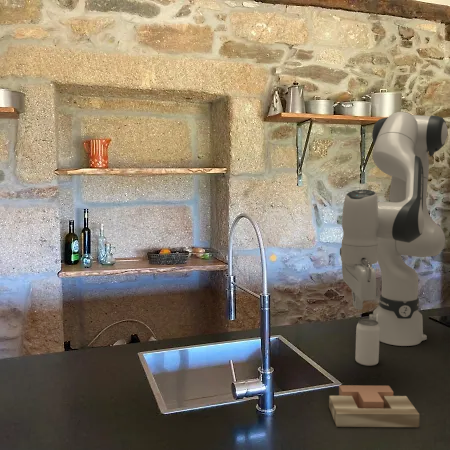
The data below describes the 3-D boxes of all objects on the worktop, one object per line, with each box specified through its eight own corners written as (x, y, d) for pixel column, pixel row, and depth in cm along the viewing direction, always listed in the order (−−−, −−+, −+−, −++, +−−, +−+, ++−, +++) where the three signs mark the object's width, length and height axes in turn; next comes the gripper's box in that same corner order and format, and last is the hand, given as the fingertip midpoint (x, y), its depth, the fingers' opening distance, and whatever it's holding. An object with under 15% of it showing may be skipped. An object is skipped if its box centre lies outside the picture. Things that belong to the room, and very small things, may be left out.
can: (379, 367, 141) (381, 326, 139) (355, 365, 142) (357, 324, 140) (377, 358, 147) (378, 319, 145) (354, 356, 148) (355, 317, 147)
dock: (329, 407, 118) (329, 395, 117) (405, 408, 117) (406, 396, 117) (336, 426, 109) (336, 413, 109) (418, 427, 109) (419, 414, 108)
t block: (338, 401, 121) (339, 385, 121) (388, 401, 121) (388, 385, 120) (346, 418, 113) (347, 401, 112) (399, 418, 112) (400, 401, 112)
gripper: (384, 263, 115) (381, 321, 117) (361, 247, 135) (360, 296, 137) (356, 263, 115) (355, 321, 117) (338, 247, 135) (337, 296, 137)
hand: (357, 307), depth 127 cm, fingers closed
